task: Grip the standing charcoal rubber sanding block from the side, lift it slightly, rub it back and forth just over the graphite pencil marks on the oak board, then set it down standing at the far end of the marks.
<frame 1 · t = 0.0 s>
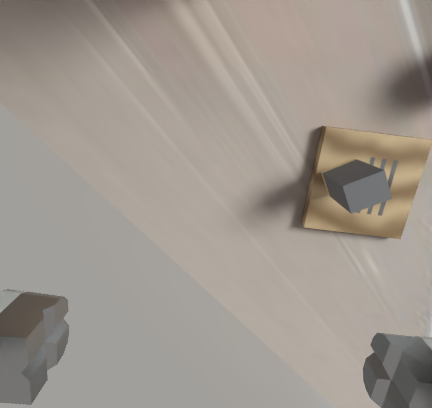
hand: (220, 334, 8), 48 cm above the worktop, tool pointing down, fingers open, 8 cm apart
oak board: (360, 183, 56), on the worktop
sanding block: (341, 177, 53), point 2 cm above the worktop, touching oak board
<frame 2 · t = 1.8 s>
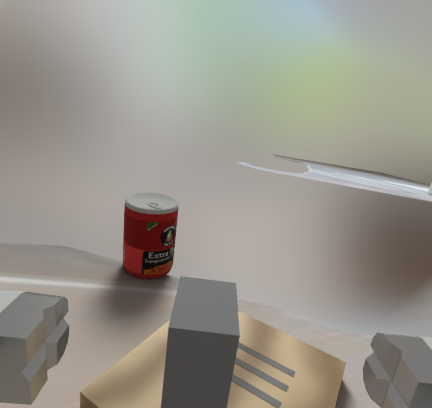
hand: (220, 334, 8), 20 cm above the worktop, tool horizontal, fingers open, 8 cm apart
oak board: (226, 392, 29), on the worktop
sanding block: (192, 405, 25), point 2 cm above the worktop, touching oak board
canned food: (147, 267, 49), on the worktop
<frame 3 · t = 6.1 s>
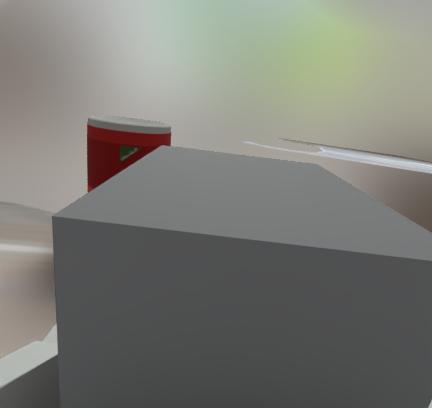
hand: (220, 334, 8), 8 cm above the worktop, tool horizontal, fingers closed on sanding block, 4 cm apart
canned food: (126, 229, 33), on the worktop
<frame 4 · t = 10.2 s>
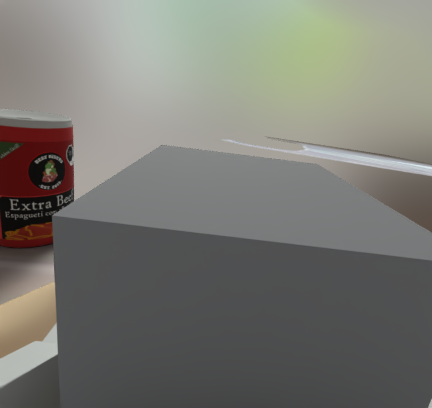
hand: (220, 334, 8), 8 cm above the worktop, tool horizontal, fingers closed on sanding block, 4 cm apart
canned food: (31, 232, 30), on the worktop
when the fingers open (8 cm above the worktop, at t = 14.2 s): sanding block stays where it is, resting on oak board.
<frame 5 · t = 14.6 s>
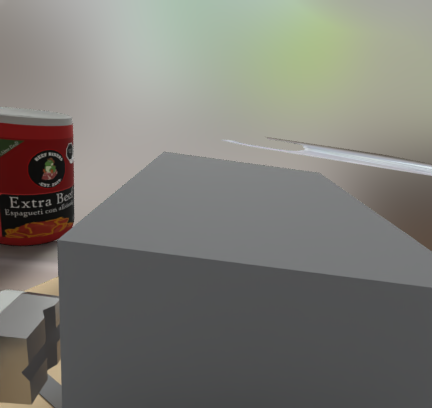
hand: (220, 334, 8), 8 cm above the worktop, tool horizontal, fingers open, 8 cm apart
canned food: (31, 231, 30), on the worktop
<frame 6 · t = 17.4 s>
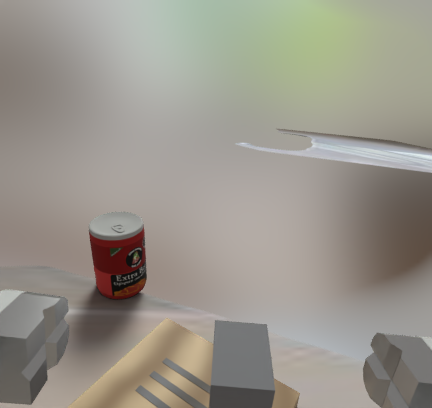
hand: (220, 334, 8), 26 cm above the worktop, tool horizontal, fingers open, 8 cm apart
canned food: (122, 284, 49), on the worktop
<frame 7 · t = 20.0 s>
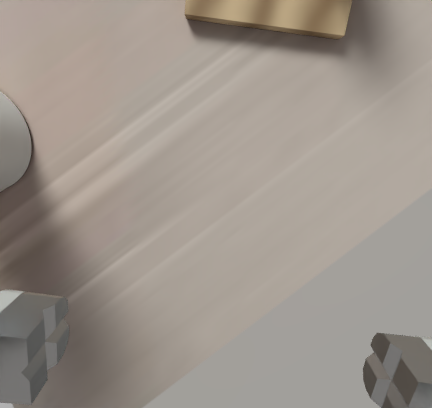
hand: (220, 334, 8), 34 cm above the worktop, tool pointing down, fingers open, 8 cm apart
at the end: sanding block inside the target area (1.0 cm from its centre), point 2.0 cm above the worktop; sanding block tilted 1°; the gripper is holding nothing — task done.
